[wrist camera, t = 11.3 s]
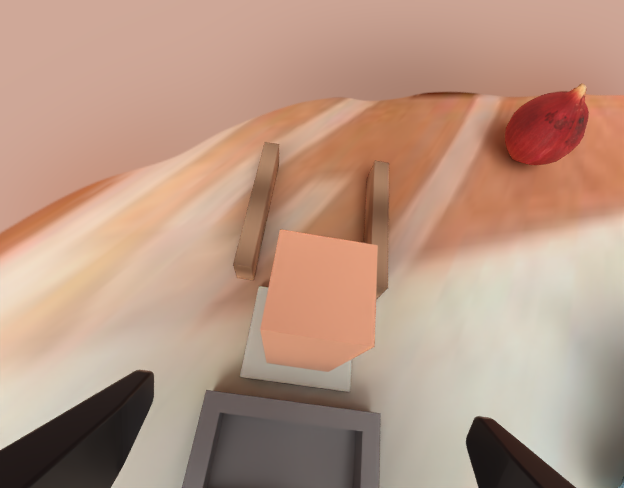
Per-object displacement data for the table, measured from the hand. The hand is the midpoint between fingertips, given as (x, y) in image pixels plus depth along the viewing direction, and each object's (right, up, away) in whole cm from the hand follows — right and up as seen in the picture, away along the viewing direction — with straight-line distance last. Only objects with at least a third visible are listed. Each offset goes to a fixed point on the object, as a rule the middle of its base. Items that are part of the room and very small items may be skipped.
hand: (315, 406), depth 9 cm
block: (-1, -2, +12) cm, 13 cm away
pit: (-2, -8, +9) cm, 13 cm away
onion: (+20, +13, +23) cm, 33 cm away
